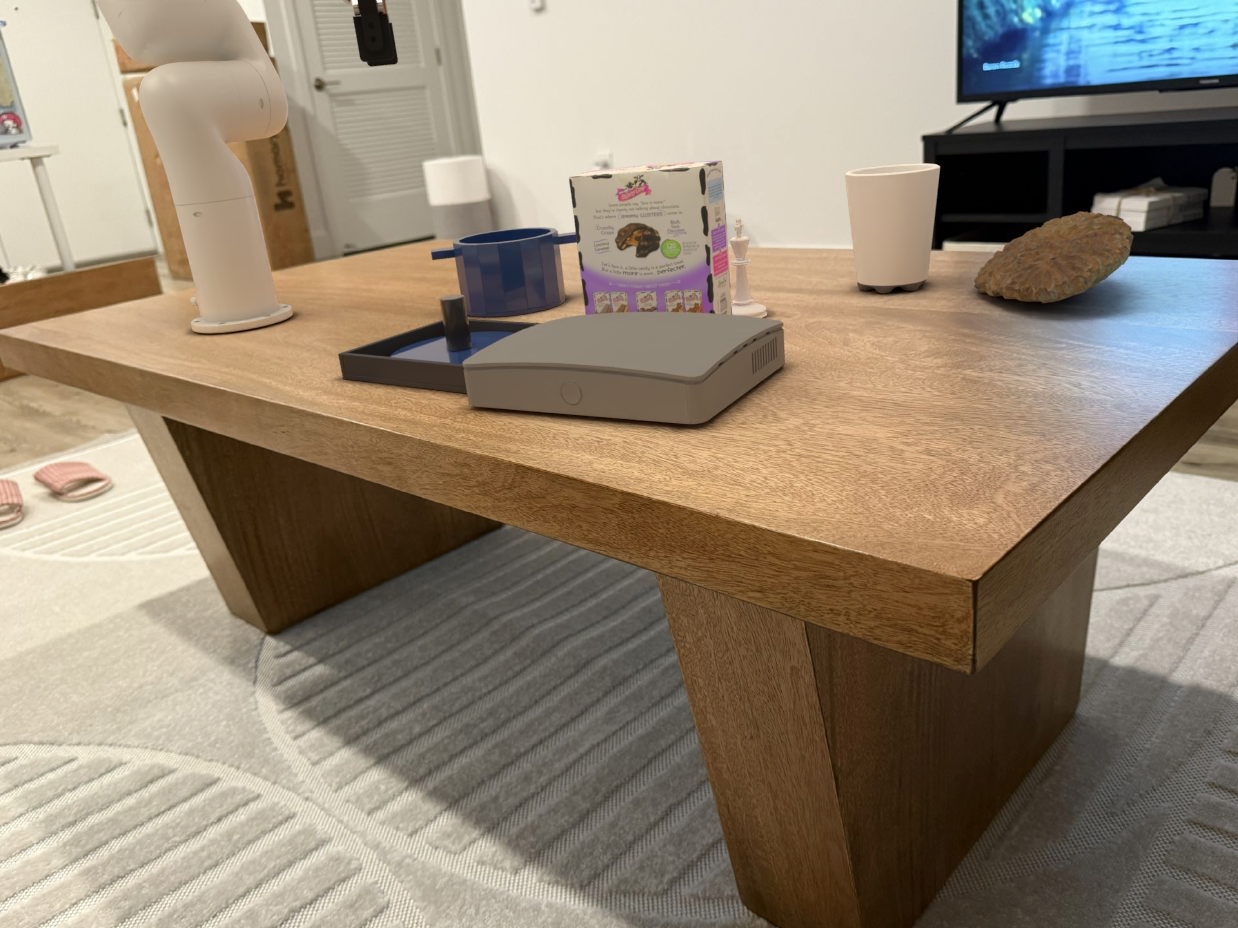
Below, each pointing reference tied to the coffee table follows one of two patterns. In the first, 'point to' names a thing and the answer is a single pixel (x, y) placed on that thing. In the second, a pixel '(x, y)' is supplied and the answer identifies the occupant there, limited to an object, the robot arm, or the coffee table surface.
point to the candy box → (653, 238)
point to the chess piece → (743, 278)
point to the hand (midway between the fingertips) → (380, 63)
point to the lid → (452, 336)
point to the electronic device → (628, 365)
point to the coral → (1058, 258)
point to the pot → (509, 270)
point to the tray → (382, 368)
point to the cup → (892, 224)
